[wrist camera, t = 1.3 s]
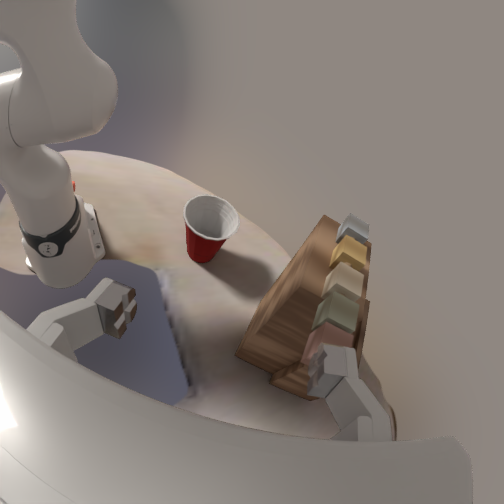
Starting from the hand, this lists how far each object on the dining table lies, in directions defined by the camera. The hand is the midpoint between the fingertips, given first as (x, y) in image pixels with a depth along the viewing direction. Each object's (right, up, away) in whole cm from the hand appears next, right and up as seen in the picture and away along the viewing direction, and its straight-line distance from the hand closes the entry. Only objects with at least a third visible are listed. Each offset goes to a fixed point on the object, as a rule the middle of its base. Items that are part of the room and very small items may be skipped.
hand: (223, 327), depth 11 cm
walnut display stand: (+8, -16, +40) cm, 43 cm away
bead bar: (+10, -1, +18) cm, 20 cm away
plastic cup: (-10, +3, +47) cm, 48 cm away
